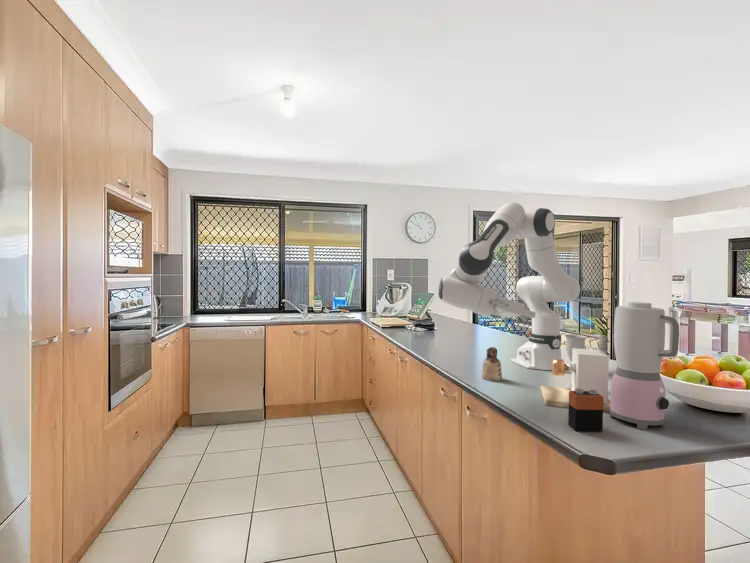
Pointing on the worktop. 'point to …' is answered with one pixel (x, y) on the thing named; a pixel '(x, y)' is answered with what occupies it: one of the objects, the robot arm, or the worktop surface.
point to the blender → (641, 363)
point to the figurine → (492, 366)
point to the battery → (585, 411)
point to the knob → (561, 367)
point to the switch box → (590, 371)
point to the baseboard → (561, 397)
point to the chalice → (574, 342)
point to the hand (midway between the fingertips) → (530, 315)
